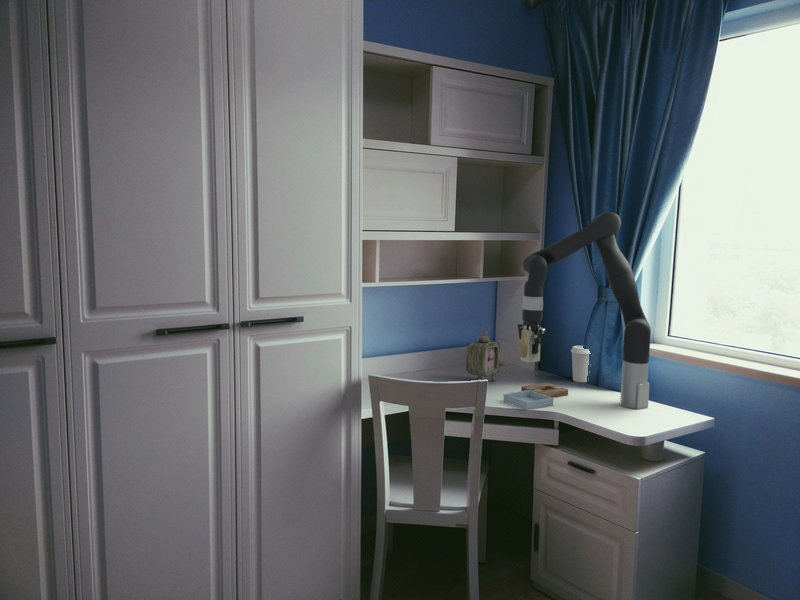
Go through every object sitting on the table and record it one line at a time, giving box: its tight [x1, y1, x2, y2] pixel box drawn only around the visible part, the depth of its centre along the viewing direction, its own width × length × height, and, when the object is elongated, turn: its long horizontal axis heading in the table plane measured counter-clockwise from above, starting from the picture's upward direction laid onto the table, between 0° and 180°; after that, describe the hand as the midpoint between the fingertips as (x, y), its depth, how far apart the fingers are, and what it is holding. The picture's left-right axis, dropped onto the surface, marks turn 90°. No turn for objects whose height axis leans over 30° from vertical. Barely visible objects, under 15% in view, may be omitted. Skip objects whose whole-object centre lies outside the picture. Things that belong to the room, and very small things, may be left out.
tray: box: [502, 390, 554, 411], centre depth 238 cm, size 13×13×3 cm
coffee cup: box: [570, 345, 591, 383], centre depth 276 cm, size 10×10×15 cm
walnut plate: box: [520, 382, 569, 399], centre depth 253 cm, size 12×14×2 cm
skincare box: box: [520, 329, 541, 363], centre depth 237 cm, size 6×4×12 cm
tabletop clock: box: [465, 324, 501, 381], centre depth 269 cm, size 14×9×25 cm, turn 141°
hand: (530, 352), depth 237 cm, fingers closed on skincare box, 4 cm apart
